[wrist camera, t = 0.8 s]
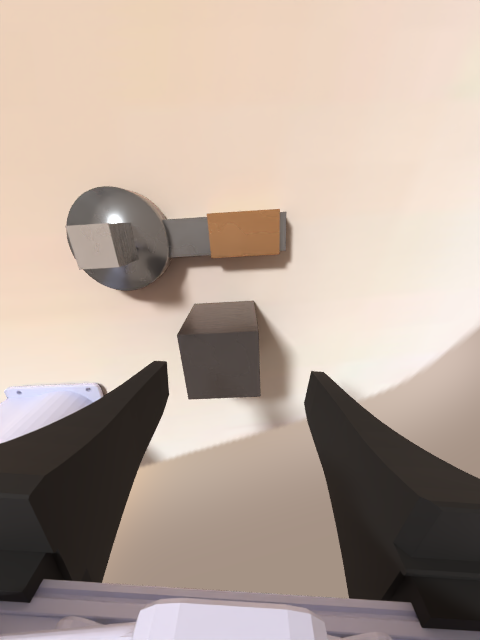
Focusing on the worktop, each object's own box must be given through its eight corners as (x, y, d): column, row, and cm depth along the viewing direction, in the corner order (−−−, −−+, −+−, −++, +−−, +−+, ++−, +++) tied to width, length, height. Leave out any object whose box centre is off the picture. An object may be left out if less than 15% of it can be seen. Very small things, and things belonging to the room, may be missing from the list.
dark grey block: (201, 355, 22) (188, 399, 17) (194, 303, 20) (177, 335, 15) (255, 352, 22) (260, 396, 17) (253, 300, 20) (258, 331, 15)
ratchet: (97, 286, 20) (56, 305, 16) (69, 192, 17) (10, 183, 13) (282, 276, 20) (294, 293, 15) (283, 178, 17) (298, 163, 12)
